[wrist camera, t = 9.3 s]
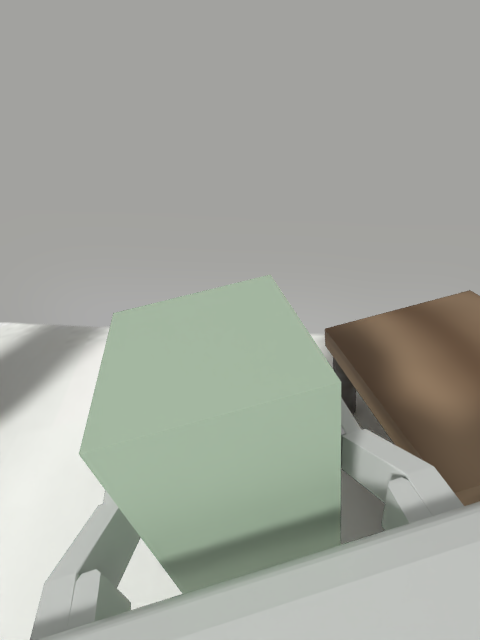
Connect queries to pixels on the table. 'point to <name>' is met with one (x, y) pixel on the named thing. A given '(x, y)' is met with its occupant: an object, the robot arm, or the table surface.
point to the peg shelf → (420, 381)
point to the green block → (219, 432)
